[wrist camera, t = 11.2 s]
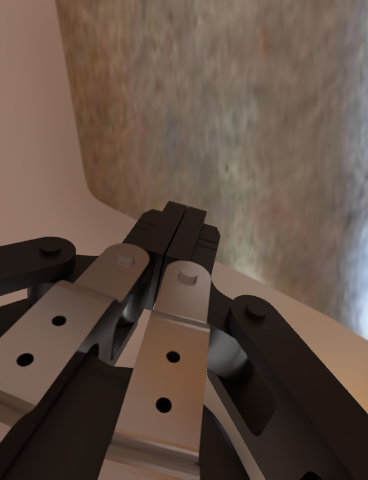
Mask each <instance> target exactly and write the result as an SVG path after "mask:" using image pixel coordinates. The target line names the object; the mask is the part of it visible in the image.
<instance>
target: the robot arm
mask: <svg viewBox="0 0 368 480" xmlns="http://www.w3.org/2000/svg"><path fill="white" fill-rule="evenodd" d="M206 213H207V211H204V210H200V209H197V208H193V207H190V206H189V207H188V209H187V206H186V205H182V204H179V203H175V202H172V201H169V202H168V203H167V205H166V207H165V208H164V210H163V211H162V212H161V211H158V210H154V209H152V210H150V211H147V212H145V213H143V214H142V216H141V217H140V219H139V220H138V222H137V223H136V224H135V226H134V227H133V228H132V230H131V231H130V233H129V234H128V235H127V237H126V238H125V239H124V241H123V242H122V243H121V244H115V245H112V246H110V247H108V248H107V249H106V250H105V251H104V252H103V253H102V254H101V255H100V256H86V255H76V248H75V246H74V245H73V244H72V243H71V242H70V241H68V240H66V239H63V238H59V237H42V238H37V239H33V240H28V241H23V242H19V243H14V244H9V245H5V246H0V296H2V295H5V294H8V293H12V292H15V291H19V290H22V289H25V288H27V295H28V298H27V299H23V300H20V301H17V302H13V303H10V304H7V305H4V306H1V307H0V480H250V478H249V476H248V474H247V472H246V470H245V468H244V466H243V464H242V462H241V460H240V458H239V456H238V454H237V452H236V450H235V448H234V446H233V444H232V442H231V440H230V438H229V436H228V435H227V432H226V431H225V429H224V428H223V426H222V425H221V423H220V422H219V420H218V419H217V418H216V417H215V415H214V414H213V413H212V412H211V411H210V410H209V409H208V408H207V407H206V406H205V405H204V404H203V401H204V391H205V380H206V369H207V375H208V378H209V380H210V382H211V383H212V385H213V387H214V389H215V390H216V392H217V394H218V396H219V398H220V399H221V401H222V403H223V405H224V406H225V408H226V410H227V412H228V413H229V415H230V417H231V419H232V421H233V422H234V424H235V426H236V428H237V430H238V431H239V433H240V435H241V437H242V438H243V440H244V442H245V444H246V446H247V447H248V449H249V450H250V452H251V454H252V456H253V458H254V460H255V461H256V463H257V465H258V467H259V469H260V470H261V472H262V474H263V476H264V477H265V479H266V480H368V414H367V413H366V411H365V410H364V409H363V408H362V407H361V406H360V405H359V404H358V402H357V401H356V400H355V399H354V398H353V397H352V396H351V394H350V393H349V392H348V391H347V390H346V389H345V388H344V386H343V385H342V384H341V383H340V382H339V381H338V380H337V379H336V377H335V376H334V375H333V374H332V373H331V372H330V371H329V369H328V368H327V367H326V366H325V365H324V364H323V363H322V361H321V360H320V359H319V358H318V357H317V356H316V355H315V353H314V352H313V351H312V350H311V349H310V348H309V347H308V345H307V344H306V343H305V342H304V341H303V340H302V339H301V338H300V336H299V335H298V334H297V333H296V332H295V331H294V330H293V329H292V327H291V326H290V325H289V324H288V323H287V322H286V320H285V319H284V318H283V317H282V316H281V315H280V314H279V313H278V311H277V310H276V309H275V308H274V307H273V306H272V305H271V304H270V303H268V302H267V301H265V300H264V299H262V298H259V297H256V296H252V295H241V296H238V297H236V298H235V299H234V300H232V299H230V298H228V297H227V296H225V295H223V294H222V293H221V292H220V291H218V290H217V289H216V287H215V286H214V284H213V283H212V280H211V273H212V269H213V265H214V261H215V257H216V252H217V248H218V244H219V240H220V233H219V231H218V229H217V227H214V226H210V225H207V224H204V221H205V217H206ZM155 302H156V303H155ZM154 304H155V307H154V310H152V309H153V306H154ZM144 309H148V310H152V312H151V314H150V318H149V321H148V324H147V327H146V331H145V334H144V337H143V340H142V344H141V347H140V350H139V353H138V357H137V360H136V363H135V366H134V368H127V367H115V366H114V365H115V364H116V362H117V361H118V359H119V357H120V355H121V354H122V351H123V350H124V348H125V347H126V345H127V343H128V341H129V339H130V338H131V336H132V334H133V332H134V330H135V329H136V327H137V325H138V319H139V318H140V316H141V314H142V312H143V310H144Z"/></svg>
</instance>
